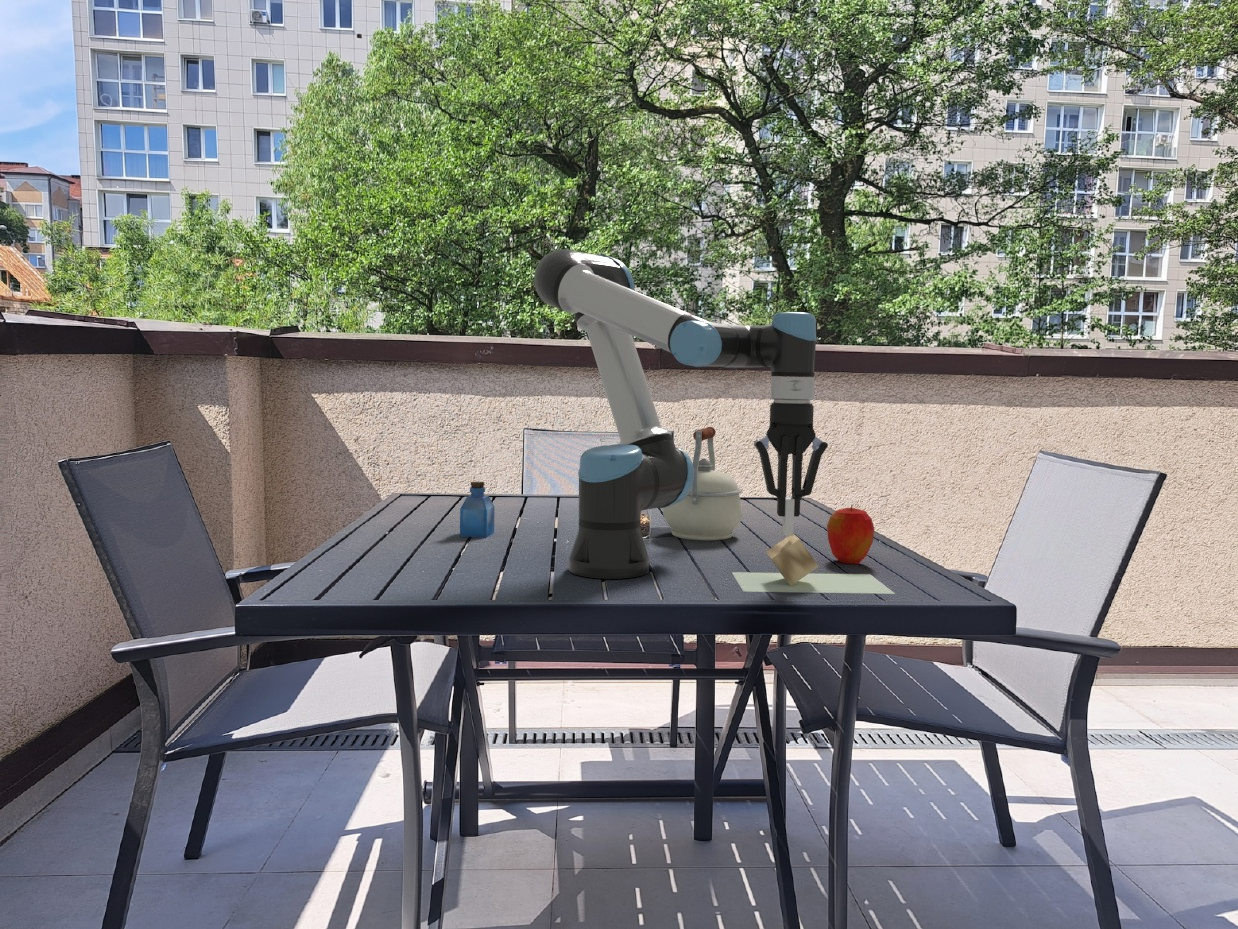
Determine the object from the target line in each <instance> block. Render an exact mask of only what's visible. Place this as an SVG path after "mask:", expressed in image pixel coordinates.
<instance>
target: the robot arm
mask: <svg viewBox="0 0 1238 929" xmlns="http://www.w3.org/2000/svg"><path fill="white" fill-rule="evenodd" d="M534 271H535V272H534V277H533V278H534V279H533V280H534V283H533V284H534V288H535V291H536V293H537V296H539V298H540V300H542V301H543V302H544V303H545V304H547V305H549V307H553V308H556V309H558V310H561V311H563V312H565V313H567V314H572V315H573V318H574V319H575V323H576V326H577V327H578V328H579V329H581V330H582V331H585V332H586V333H587V337H588V339H589V343H590V346H591V349H592V352H593V356H594V359H595V362H596V366H597V369H598V371H599V376H600V379H601V382H602V385H603V388H604V391H605V394H606V398H607V401H608V404H609V408H610V411H611V413H612V417H613V420H614V423H615V426H616V427H615V428H616V430H617V434H618V437H619V444H618V443H617V444H610V445H599V446H595V447H594V446H593V447H591V448H589V449H586V450H585V451H583V452H582V453H581V455H580V457H579V469H578V474H577V476H578V530H577V533H576V536H575V539H574V543H573V545H572V548H571V552H570V555H569V557H568V558H569V559H568V572H570V573H571V574H573V575H576V576H581V577H587V578H592V579H604V580H605V579H607V580H608V579H609V580H610V579H611V580H613V579H615V580H616V579H617V580H619V579H630V578H637V577H641V576H644V575H647V574H648V573H649V572H650V571H649V570H650V558H649V554H648V552H647V548H646V545H645V543H644V542H645V541H644V538H643V535H642V530H641V524H642V523H641V520H642V518H641V517H642V516H641V515H642V514H641V512H642V511H646V510H653V509H663V508H665V507H668V506H670V505H673V504H676V503H678V502H680V501H682V500H683V499H684V498H685V497H686V496H687V495H688V493H689V491H690V488H691V486H692V484H693V480H694V468H693V464H692V463H693V460H692V459H691V458H690V456H689V455H688V453H687V452H686V451H683V450H682V449H680V448H679V447H676V444H675V442H674V441H675V440H674V438H673V435H672V433H671V432H670V431H668V430H666V429H664V428H663V427H662V426H661V422H660V419H659V417H658V413H657V410H656V407H655V403H654V400H653V397H652V394H651V391H650V388H649V385H648V382H647V378H646V375H645V372H644V369H643V367H642V362H641V359H640V356H639V354H638V351H637V347H636V343H635V341H634V338H633V337H635V338H636V339H640V340H642V341H643V342H646V343H648V344H651V345H653V346H655V347H657V348H659V349H662V350H664V351H666V352H668V353H671V354H672V355H673V357H674V358H675V359H676V361H678V362H679V363H680V364H682V365H685V366H691V367H695V368H704V367H711V368H712V367H715V368H716V367H722V368H728V369H738V368H770V372H771V373H770V376H771V377H770V399H771V400H773V402H771V403H770V405H769V427H768V429H767V431H766V435H765V436H763V437H761V438H760V439H759V440H755V441H754V442H753V445H754V448H755V449H756V450H757V451H758V455H759V458H760V463H761V468H762V473H763V477H764V483H765V487H766V491H767V493H768V494H770V495H771V496H774V497H776V499H777V501H776V504H777V505H776V514H777V515H778V517H782V521H781V522H782V525H781V526H782V528H781V534H782V535H783V536H785V537H788V536H793V534H794V528H795V527H794V526H795V522H794V521H795V517H796V518H797V517H799V516H800V515H801V500H802V498H803V497H806V496H807V497H808V496H811V494H812V491H813V488H814V485H815V482H816V477H817V473H818V470H819V468H820V467H819V466H820V463H821V459H822V456H823V454H824V453H825V452H826V450H827V449H828V447H829V445H828V443H827V442H825V441H824V440H821V439H819V438H818V437H817V436H816V431H815V429H814V409H815V408H814V405H813V403H811V401H813V400H814V399H815V375H816V374H815V369H816V368H815V366H816V365H815V364H816V348H817V346H816V345H817V344H816V343H817V341H818V338H817V319H816V317H815V315H813V313H809V312H800V311H799V312H798V311H796V312H795V311H788V312H777V313H775V314H774V315H773V316H772V321H771V324H767V325H743V324H742V325H740V324H731V323H722V322H721V323H720V322H712V321H709V320H706V319H704V318H701V317H700V316H696V315H693V314H692V313H690V312H687V311H684V310H681V309H679V308H676V307H674V306H672V305H670V304H667V303H665V302H662V301H660V300H657V299H655V298H653V297H651V296H647V295H645V294H643V293H640V292H638V291H636V290H635V283H634V280H633V279H634V278H633V275H632V273H631V271H630V270H629V267H627V265H625V264H624V262H622V261H621V260H619V259H618V258H614V257H612V256H609V255H606V254H599V253H597V254H593V253H590V252H589V253H588V252H583V251H577V250H573V249H567V248H566V249H564V248H563V249H557V250H556V249H555V250H554V251H551V252H549V253H548V254H546V255H544V256H543V257H542V258H541V259H540V261H539V263H538V264H537V266H536V268H535V270H534ZM769 444H771V445H772V447H773V449H774V450H775V451H776V452H777V480H776V481H777V484H775V479H774V475H773V470H772V469H773V468H772V464H771V460H770V456H769V452H768V449H769V448H770V445H769ZM811 444H812V445H811ZM810 445H811V448H812V450H813V451H812V452H811V454H810V455H811V456H810V459H809V462H808V467H807V469H806V474H805V477H804V481H803V483H802V478H803V477H802V475H803V459H804V458H803V457H804V453H805V452H806V451H807V450H808V448H809V447H810ZM790 455H791V458H792V465H791V466H792V470H791V497H789V496H788V497H787V486H788V484H787V483H788V460H789V456H790ZM802 484H803V485H802ZM776 487H777V488H776Z"/></svg>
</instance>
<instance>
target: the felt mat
mask: <svg viewBox="0 0 1238 929" xmlns="http://www.w3.org/2000/svg"><path fill="white" fill-rule="evenodd" d="M731 573H732V575H733V577H734V578H735V580H736V582H737V583H738V585H739V587H740V588H741V590H742V592H745V593H748V592H749V593H750V592H754V593H755V592H756V593H759V592H760V593H762V592H763V593H815V594H817V593H819V594H820V593H821V594H822V593H823V594H826V593H827V594H837V593H838V594H840V593H841V594H876V595H878V594H884V595H887V594H888V595H889V594H890V595H895V594H896V593H895V592H894V591H892V590H891V589H890V588H889V587H887V586H886V585H885V584H884V583H883V582H881V581H879V580H878V579H877V577H874V576H873V575H872V574H869V573H866V574H865V573H812V572H810V573H809V574H807V575H806V576H805V577H803V578H802V579H800V580H799V581H797V582H796V583H795V584H793V585H792V586H790V584H789V583H788V582H787V581H786V580H785V579H784V577H783V576H782V574H781V573H780V572H747V571H746V572H741V571H739V572H737V571H736V572H735V571H732V572H731Z"/></svg>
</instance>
